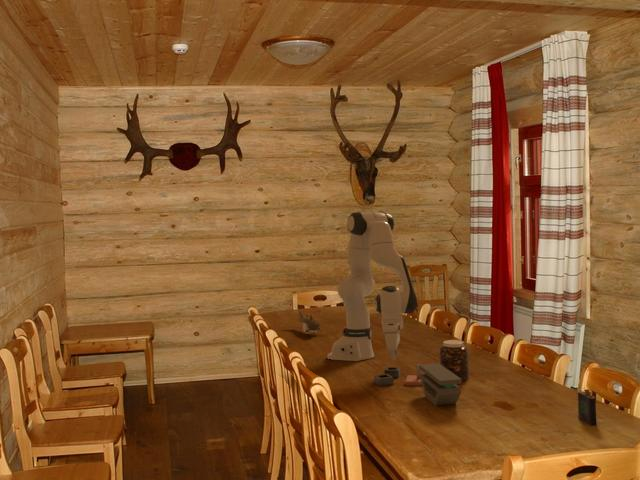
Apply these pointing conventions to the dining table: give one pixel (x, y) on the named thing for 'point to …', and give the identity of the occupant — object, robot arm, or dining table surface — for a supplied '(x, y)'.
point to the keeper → (414, 378)
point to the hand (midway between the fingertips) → (394, 357)
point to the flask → (587, 407)
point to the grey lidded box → (440, 384)
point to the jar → (455, 358)
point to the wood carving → (308, 323)
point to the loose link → (383, 379)
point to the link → (392, 371)
